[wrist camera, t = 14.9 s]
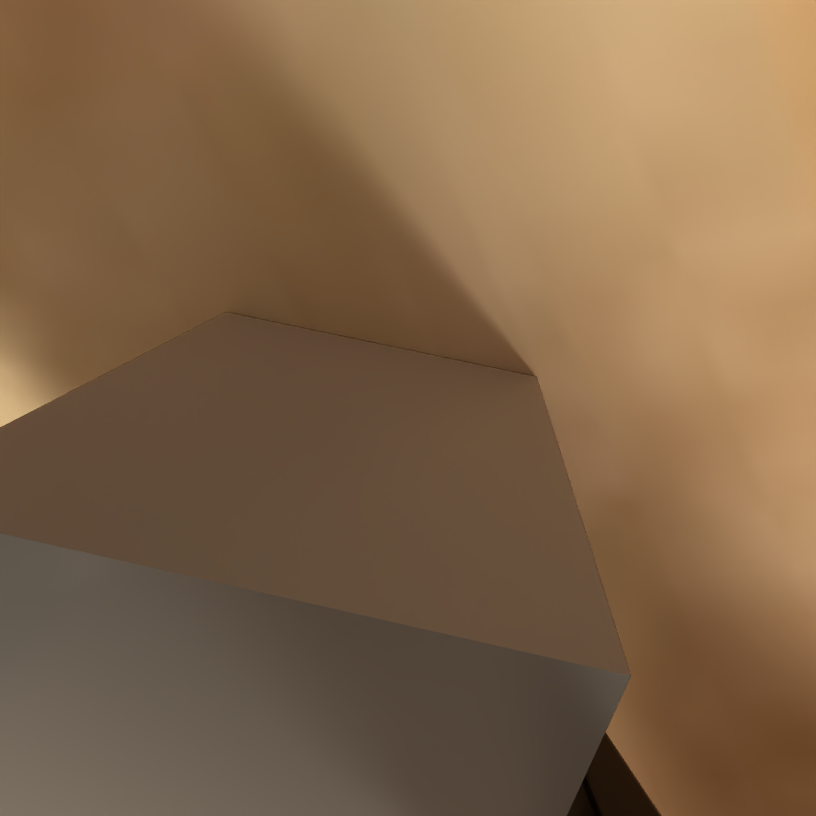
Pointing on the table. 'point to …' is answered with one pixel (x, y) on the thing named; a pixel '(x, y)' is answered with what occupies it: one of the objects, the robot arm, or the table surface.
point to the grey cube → (296, 589)
